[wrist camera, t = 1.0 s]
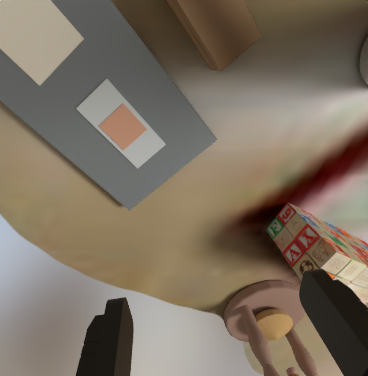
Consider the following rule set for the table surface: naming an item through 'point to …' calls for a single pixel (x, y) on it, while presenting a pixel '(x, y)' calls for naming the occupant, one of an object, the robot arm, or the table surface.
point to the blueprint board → (97, 94)
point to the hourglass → (269, 322)
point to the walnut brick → (217, 28)
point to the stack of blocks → (321, 248)
